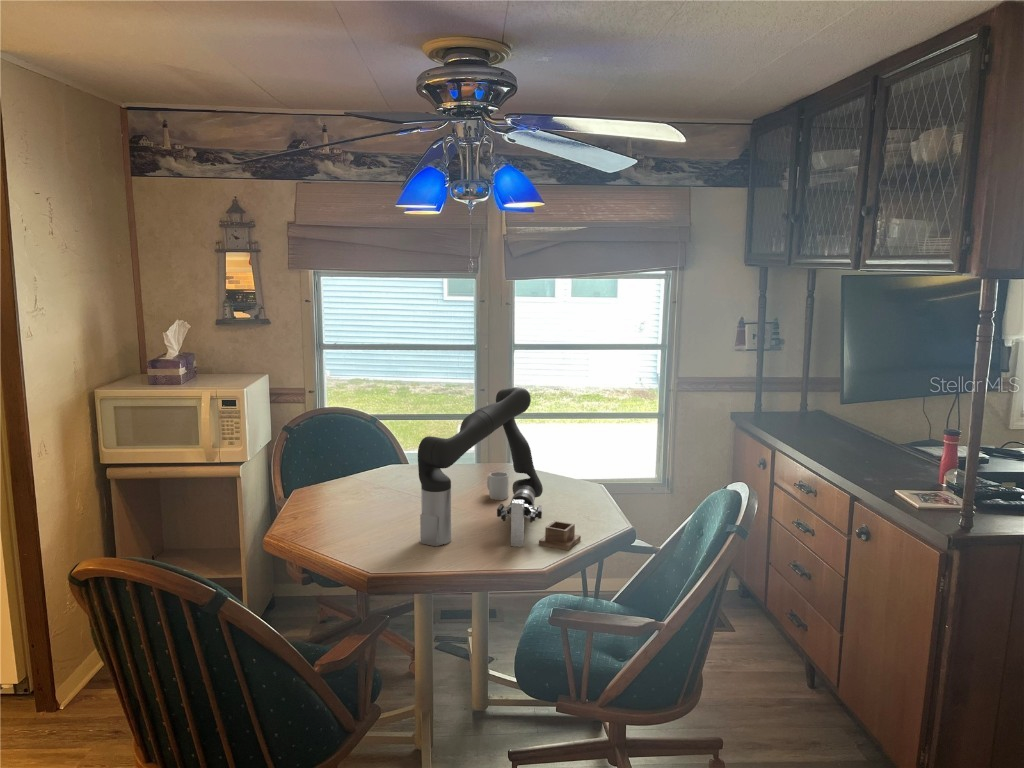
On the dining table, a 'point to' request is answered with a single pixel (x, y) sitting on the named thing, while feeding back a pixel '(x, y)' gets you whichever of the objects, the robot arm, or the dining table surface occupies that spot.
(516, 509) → the grey rectangular block
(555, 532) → the wooden socket base
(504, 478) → the cup
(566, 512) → the dining table surface
